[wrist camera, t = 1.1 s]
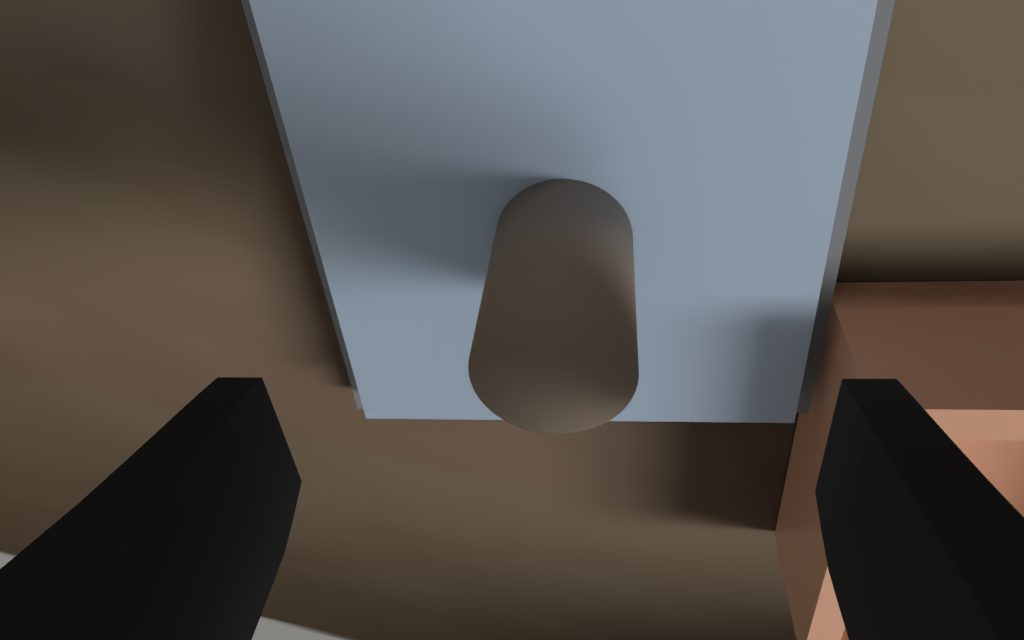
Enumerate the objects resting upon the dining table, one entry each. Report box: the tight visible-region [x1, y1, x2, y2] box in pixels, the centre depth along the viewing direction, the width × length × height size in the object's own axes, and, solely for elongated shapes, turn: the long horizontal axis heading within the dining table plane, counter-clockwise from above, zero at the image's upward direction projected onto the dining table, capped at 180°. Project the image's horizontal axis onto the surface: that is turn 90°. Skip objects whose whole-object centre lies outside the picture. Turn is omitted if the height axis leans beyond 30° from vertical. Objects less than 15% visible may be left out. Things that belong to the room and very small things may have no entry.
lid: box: [249, 0, 878, 434], centre depth 13 cm, size 9×9×4 cm
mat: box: [241, 0, 895, 413], centre depth 15 cm, size 10×10×1 cm
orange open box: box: [775, 281, 1024, 640], centre depth 16 cm, size 8×8×4 cm
